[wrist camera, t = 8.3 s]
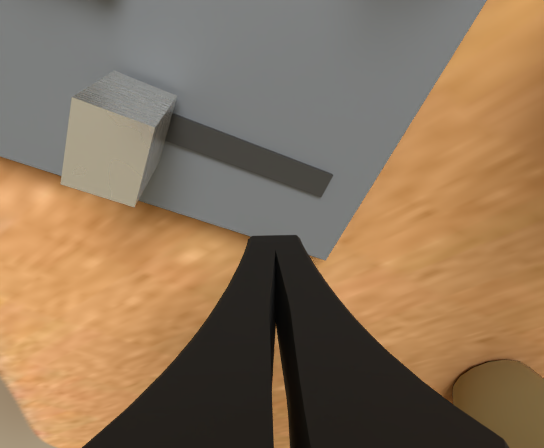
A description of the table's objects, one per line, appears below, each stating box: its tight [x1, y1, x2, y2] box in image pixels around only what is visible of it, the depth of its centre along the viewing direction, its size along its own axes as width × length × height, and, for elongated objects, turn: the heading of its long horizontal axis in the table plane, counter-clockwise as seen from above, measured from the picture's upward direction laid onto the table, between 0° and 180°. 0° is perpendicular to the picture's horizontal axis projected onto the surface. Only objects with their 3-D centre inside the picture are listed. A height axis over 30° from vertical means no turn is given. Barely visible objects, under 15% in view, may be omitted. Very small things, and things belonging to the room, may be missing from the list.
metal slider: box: [61, 71, 177, 207], centre depth 13 cm, size 2×3×4 cm
